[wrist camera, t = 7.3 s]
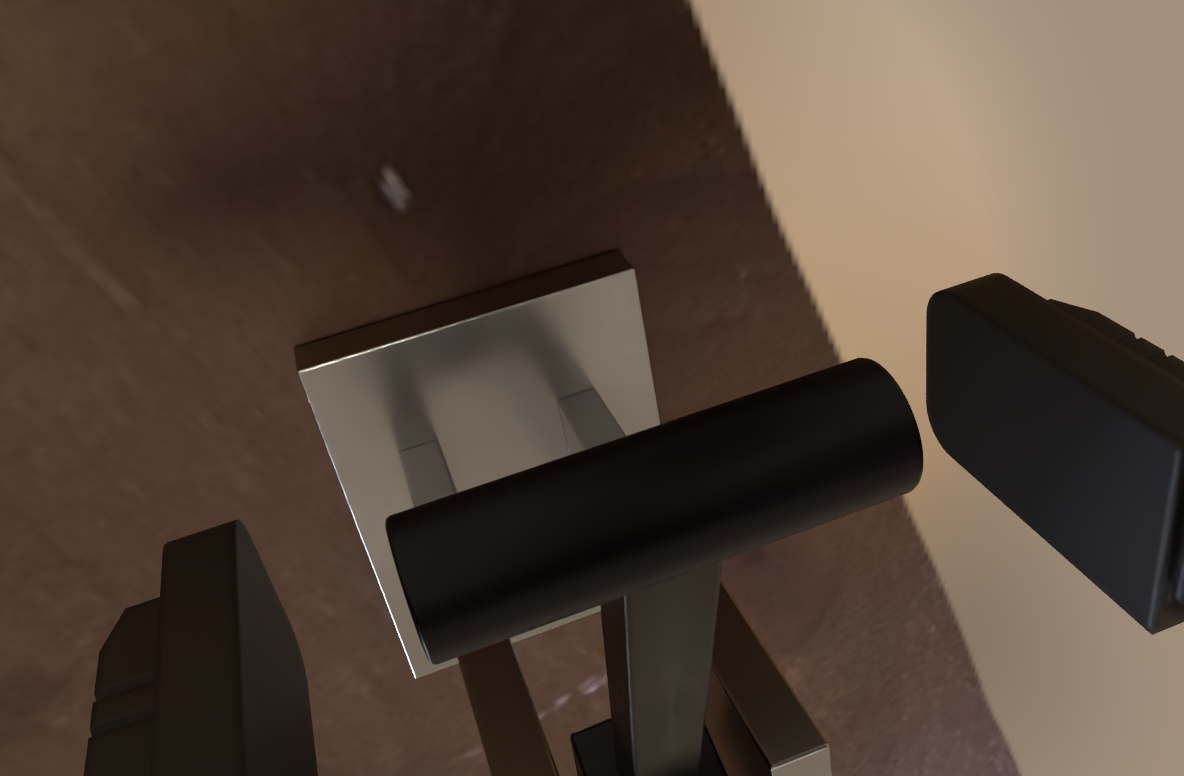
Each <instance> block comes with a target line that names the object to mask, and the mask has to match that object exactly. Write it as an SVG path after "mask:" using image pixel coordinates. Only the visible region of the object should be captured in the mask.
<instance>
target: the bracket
mask: <svg viewBox="0 0 1184 776" xmlns="http://www.w3.org/2000/svg"><path fill="white" fill-rule="evenodd" d="M294 355H295V362H296V368H297V373H298V376H299V379H300V381H301V384H302V386H303V389H304V392H305V394H306V397H307V399H308V402H309V405H310V407H311V410H312V412H313V415H314V417H315V420H316V423H317V425H318V428H319V430H320V433H321V436H322V438H323V441H324V443H325V446H326V449H327V451H328V454H329V456H330V459H331V462H332V464H333V467H334V469H335V472H336V475H337V477H338V480H339V482H340V485H341V488H342V490H343V493H344V495H345V498H346V500H347V503H348V506H349V508H350V511H351V513H352V516H353V519H354V521H355V524H356V526H357V529H358V532H359V534H360V537H361V539H362V542H363V545H364V547H365V550H366V552H367V555H368V558H369V560H370V563H371V565H372V568H373V571H374V573H375V576H376V578H377V581H378V583H379V586H380V589H381V591H382V594H383V596H384V599H385V602H386V604H387V607H388V609H389V612H390V615H391V617H392V620H393V622H394V625H395V628H396V630H397V633H398V635H399V638H400V641H401V643H402V646H403V648H404V651H405V654H406V656H407V659H408V661H409V664H410V666H411V669H412V672H413V674H414V677H415V678H416V679H418V678H421V677H423V676H426V675H429V674H432V673H434V672H437V671H440V670H442V669H445V668H448V667H451V666H453V665H456V664H459V665H460V668H461V672H462V675H463V679H464V682H465V686H466V689H467V692H468V696H469V699H470V703H471V706H472V710H473V713H474V717H475V720H476V723H477V727H478V730H479V734H480V737H481V741H482V744H483V748H484V751H485V754H486V758H487V761H488V765H489V768H490V772H491V775H492V776H559V773H558V771H557V768H556V765H555V762H554V760H553V757H552V754H551V751H550V748H549V746H548V743H547V740H546V737H545V735H544V732H543V729H542V726H541V723H540V721H539V718H538V715H537V712H536V710H535V707H534V704H533V701H532V698H531V696H530V693H529V690H528V687H527V685H526V682H525V679H524V676H523V673H522V671H521V668H520V665H519V662H518V660H517V657H516V654H515V651H514V648H513V646H512V644H513V643H516V642H519V641H522V640H524V639H527V638H530V637H533V636H535V635H538V634H541V633H544V632H546V631H549V630H552V629H554V628H557V627H560V626H563V625H565V624H568V623H571V622H574V621H576V620H579V619H582V618H584V617H587V616H590V615H593V614H595V613H598V612H601V606H600V605H599V606H597V607H594V608H591V609H588V610H586V611H583V612H580V613H577V614H575V615H572V616H569V617H566V618H564V619H561V620H558V621H555V622H553V623H550V624H547V625H544V626H542V627H539V628H536V629H534V630H531V631H528V632H525V633H523V634H520V635H517V636H514V637H512V638H509V639H506V640H503V641H501V642H498V643H495V644H492V645H490V646H487V647H484V648H481V649H479V650H476V651H473V652H470V653H468V654H465V655H462V656H460V657H457V658H454V659H451V660H449V661H446V662H443V663H440V664H438V665H435V664H431V662H430V661H429V660H428V658H427V657H426V654H425V652H424V650H423V647H422V645H421V642H420V639H419V637H418V634H417V631H416V628H415V625H414V623H413V620H412V617H411V614H410V611H409V608H408V605H407V602H406V599H405V595H404V592H403V589H402V586H401V583H400V579H399V576H398V573H397V569H396V566H395V563H394V559H393V556H392V552H391V548H390V545H389V541H388V537H387V532H386V527H385V522H386V518H388V517H389V516H390V515H393V514H396V513H399V512H402V511H405V510H408V509H411V508H414V507H417V506H420V505H423V504H426V503H428V502H431V501H434V500H437V499H440V498H443V497H446V496H449V495H452V494H455V493H458V492H461V491H464V490H467V489H470V488H473V487H476V486H479V485H482V484H485V483H488V482H491V481H494V480H497V479H500V478H503V477H506V476H509V475H512V474H515V473H518V472H521V471H524V470H527V469H530V468H533V467H536V466H539V465H541V464H544V463H547V462H550V461H553V460H556V459H559V458H562V457H565V456H568V455H571V454H574V453H577V452H580V451H583V450H586V449H589V448H592V447H595V446H598V445H601V444H604V443H607V442H610V441H613V440H616V439H619V438H622V437H625V436H628V435H631V434H634V433H637V432H640V431H643V430H646V429H649V428H652V427H655V426H657V425H660V424H661V423H660V417H659V411H658V405H657V399H656V393H655V387H654V381H653V375H652V369H651V363H650V357H649V351H648V345H647V339H646V333H645V327H644V321H643V315H642V309H641V303H640V298H639V292H638V286H637V280H636V274H635V269H634V267H633V266H632V265H631V264H630V263H629V262H628V261H627V260H626V259H625V257H624V256H623V255H622V254H621V253H620V252H619V251H614V252H611V253H608V254H604V255H601V256H598V257H594V258H591V259H588V260H584V261H581V262H578V263H574V264H571V265H568V266H565V267H561V268H558V269H555V270H551V271H548V272H545V273H541V274H538V275H535V276H531V277H528V278H525V279H522V280H518V281H515V282H512V283H508V284H505V285H502V286H498V287H495V288H492V289H488V290H485V291H482V292H479V293H475V294H472V295H469V296H465V297H462V298H459V299H455V300H452V301H449V302H445V303H442V304H439V305H436V306H432V307H429V308H426V309H422V310H419V311H416V312H412V313H409V314H406V315H403V316H399V317H396V318H393V319H389V320H386V321H383V322H379V323H376V324H373V325H369V326H366V327H363V328H360V329H356V330H353V331H350V332H346V333H343V334H340V335H336V336H333V337H330V338H326V339H323V340H320V341H317V342H313V343H310V344H307V345H303V346H300V347H297V348H295V349H294ZM705 725H706V727H707V730H708V732H709V734H710V736H711V739H712V741H713V743H714V745H715V748H716V750H717V752H718V754H719V757H720V759H721V761H722V763H723V766H724V768H725V770H726V772H727V775H728V776H831V762H830V749H829V744H828V742H827V741H826V739H825V738H824V736H823V735H822V733H821V732H820V730H819V729H818V727H817V726H816V724H815V723H814V721H813V719H812V717H811V716H810V714H809V713H808V711H807V710H806V709H805V707H804V706H803V704H802V703H801V701H800V700H799V698H798V697H797V695H796V694H795V692H794V691H793V689H792V687H791V686H790V684H789V683H788V681H787V680H786V678H785V677H784V675H783V674H782V672H781V671H780V669H779V668H778V666H777V665H776V663H775V662H774V660H773V659H772V657H771V656H770V654H769V652H768V651H767V649H766V648H765V646H764V645H763V643H762V642H761V640H760V639H759V637H758V636H757V634H756V633H755V631H754V630H753V628H752V627H751V625H750V624H749V622H748V620H747V619H746V617H745V616H744V614H743V613H742V611H741V610H740V608H739V607H738V605H737V604H736V602H735V601H734V599H733V598H732V596H731V595H730V593H729V592H728V590H727V589H726V587H725V585H724V584H723V582H722V581H720V590H719V599H718V609H717V618H716V627H715V636H714V646H713V655H712V664H711V673H710V683H709V692H708V701H707V710H706V720H705Z"/></svg>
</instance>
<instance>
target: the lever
mask: <svg viewBox="0 0 1184 776" xmlns="http://www.w3.org/2000/svg"><path fill="white" fill-rule="evenodd" d="M922 471H923V450H922V443H921V438H920V433H919V430H918V427H917V423H916V420H915V418H914V415H913V412H912V410H911V408H910V405H909V403H908V401H907V399H906V397H905V395H904V394H903V392H902V390H901V389H900V387H899V385H898V384H897V382H896V381H895V380H894V378H893V377H892V376H891V375H890V374H889V373H888V371H887V370H886V369H885V368H883V367H882V366H881V365H880V364H878V363H877V362H875V361H873V360H871V359H867V358H857V359H854V360H851V361H848V362H845V363H842V364H839V365H836V366H833V367H830V368H827V369H824V370H821V371H818V372H815V373H812V374H809V375H806V376H803V377H800V378H797V379H794V380H791V381H788V382H785V383H782V384H779V385H776V386H773V387H771V388H768V389H765V390H762V391H759V392H756V393H753V394H750V395H747V396H744V397H741V398H738V399H735V400H732V401H729V402H726V403H723V404H720V405H717V406H714V407H711V408H708V409H705V410H702V411H699V412H696V413H693V414H690V415H687V416H684V417H681V418H678V419H675V420H672V421H669V422H666V423H663V424H660V425H657V426H655V427H652V428H649V429H646V430H643V431H640V432H637V433H634V434H631V435H628V436H625V437H622V438H619V439H616V440H613V441H610V442H607V443H604V444H601V445H598V446H595V447H592V448H589V449H586V450H583V451H580V452H577V453H574V454H571V455H568V456H565V457H562V458H559V459H556V460H553V461H550V462H547V463H544V464H541V465H539V466H536V467H533V468H530V469H527V470H524V471H521V472H518V473H515V474H512V475H509V476H506V477H503V478H500V479H497V480H494V481H491V482H488V483H485V484H482V485H479V486H476V487H473V488H470V489H467V490H464V491H461V492H458V493H455V494H452V495H449V496H446V497H443V498H440V499H437V500H434V501H431V502H428V503H426V504H423V505H420V506H417V507H414V508H411V509H408V510H405V511H402V512H399V513H396V514H393V515H390V516H389V517H388V518H386V522H385V527H386V532H387V537H388V541H389V545H390V548H391V552H392V556H393V559H394V563H395V566H396V569H397V573H398V576H399V579H400V583H401V586H402V589H403V592H404V595H405V599H406V602H407V605H408V608H409V611H410V614H411V617H412V620H413V623H414V625H415V628H416V631H417V634H418V637H419V639H420V642H421V645H422V647H423V650H424V652H425V654H426V657H427V658H428V660H429V661H430V662H431V664H435V665H438V664H440V663H443V662H446V661H449V660H451V659H454V658H457V657H460V656H462V655H465V654H468V653H470V652H473V651H476V650H479V649H481V648H484V647H487V646H490V645H492V644H495V643H498V642H501V641H503V640H506V639H509V638H512V637H514V636H517V635H520V634H523V633H525V632H528V631H531V630H534V629H536V628H539V627H542V626H544V625H547V624H550V623H553V622H555V621H558V620H561V619H564V618H566V617H569V616H572V615H575V614H577V613H580V612H583V611H586V610H588V609H591V608H594V607H597V606H599V605H600V606H601V616H602V627H603V637H604V647H605V657H606V668H607V678H608V688H609V698H610V708H611V718H609V719H607V720H604V721H601V722H599V723H596V724H594V725H591V726H588V727H586V728H583V729H581V730H578V731H575V732H573V733H572V734H571V744H572V749H573V754H574V759H575V764H576V769H577V774H578V776H728V775H727V772H726V770H725V768H724V766H723V763H722V761H721V759H720V757H719V754H718V752H717V750H716V748H715V745H714V743H713V741H712V739H711V736H710V734H709V732H708V730H707V727H706V725H705V720H706V710H707V701H708V692H709V683H710V673H711V664H712V655H713V646H714V636H715V627H716V618H717V609H718V599H719V590H720V581H721V571H722V562H723V560H725V559H728V558H731V557H734V556H736V555H739V554H742V553H744V552H747V551H750V550H753V549H755V548H758V547H761V546H764V545H766V544H769V543H772V542H775V541H777V540H780V539H783V538H786V537H788V536H791V535H794V534H797V533H799V532H802V531H805V530H808V529H810V528H813V527H816V526H818V525H821V524H824V523H827V522H829V521H832V520H835V519H838V518H840V517H843V516H846V515H849V514H851V513H854V512H857V511H860V510H862V509H865V508H868V507H871V506H873V505H876V504H879V503H881V502H884V501H887V500H890V499H892V498H895V497H898V496H901V495H903V494H906V493H909V492H910V491H912V490H913V489H914V488H915V487H916V486H917V485H918V483H919V481H920V479H921V476H922Z"/></svg>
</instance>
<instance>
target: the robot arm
mask: <svg viewBox="0 0 1184 776" xmlns="http://www.w3.org/2000/svg"><path fill="white" fill-rule="evenodd" d="M926 332H927V333H926V334H927V336H926V337H927V338H926V339H927V340H926V341H927V342H926V350H927V351H926V358H927V359H926V374H927V375H926V405H927V413H928V417H929V421H930V424H931V427H932V429H933V432H934V434H935V436H936V438H937V440H938V441H939V443H940V444H941V446H942V447H943V449H944V450H945V451H946V452H947V453H948V454H949V455H950V456H951V457H952V458H953V459H954V460H956V462H958V463H959V464H960V465H961V466H962V467H963V468H964V469H966V470H967V471H968V472H969V473H970V474H971V475H972V476H973V477H975V478H976V479H977V480H978V481H979V482H980V483H982V485H984V486H985V487H986V488H987V489H988V490H989V491H990V492H991V493H993V494H994V495H995V496H996V497H997V498H998V499H999V500H1001V501H1002V502H1003V503H1004V504H1005V505H1006V506H1007V507H1008V508H1010V509H1011V510H1012V511H1013V512H1014V513H1015V514H1016V515H1017V516H1019V517H1020V518H1021V519H1022V520H1023V521H1024V522H1025V523H1027V524H1028V525H1029V526H1030V527H1031V528H1032V529H1033V530H1034V531H1036V532H1037V533H1038V534H1039V535H1040V536H1041V537H1042V538H1043V539H1045V540H1046V541H1047V542H1048V543H1049V544H1050V545H1051V546H1052V547H1054V548H1055V549H1056V550H1057V551H1058V552H1059V553H1060V554H1062V555H1063V556H1064V557H1065V558H1066V559H1067V560H1068V561H1069V562H1071V563H1072V564H1073V565H1074V566H1075V567H1076V568H1077V569H1078V570H1080V571H1081V572H1082V573H1083V574H1084V575H1085V576H1086V577H1087V578H1089V579H1090V580H1091V581H1092V582H1093V583H1094V584H1095V585H1096V586H1098V587H1099V588H1100V589H1101V590H1102V591H1103V592H1104V593H1105V594H1107V595H1108V596H1109V597H1110V598H1111V599H1112V600H1113V601H1114V602H1116V603H1117V604H1118V605H1119V606H1120V607H1121V608H1122V609H1124V610H1125V611H1126V612H1127V613H1128V614H1129V615H1130V616H1131V617H1133V618H1134V619H1135V620H1136V621H1137V622H1138V623H1139V624H1140V625H1142V626H1143V627H1144V628H1145V629H1146V630H1147V631H1148V632H1150V633H1151V634H1152V635H1153V634H1155V633H1158V632H1160V631H1163V630H1165V629H1167V628H1170V627H1172V626H1175V625H1177V624H1180V623H1182V622H1184V362H1183V361H1182V360H1180V359H1178V358H1176V357H1175V356H1173V355H1171V356H1168V357H1167V356H1166V355H1165V353H1164V350H1163V349H1161V348H1159V347H1157V346H1155V345H1154V344H1152V343H1150V342H1149V341H1147V340H1145V339H1143V338H1139V339H1136V338H1135V335H1134V333H1133V332H1131V331H1130V330H1128V329H1126V328H1124V327H1123V326H1121V325H1119V324H1118V323H1116V322H1114V321H1112V320H1111V319H1109V318H1107V317H1105V316H1104V315H1102V314H1100V313H1098V312H1095V311H1092V310H1088V309H1085V308H1081V307H1078V306H1074V305H1070V304H1067V303H1063V302H1059V301H1056V300H1053V299H1049V300H1046V299H1044V298H1042V297H1041V296H1039V295H1038V294H1036V293H1034V292H1033V291H1031V290H1029V289H1028V288H1026V287H1024V286H1023V285H1021V284H1019V283H1018V282H1016V281H1014V280H1012V279H1011V278H1009V277H1007V276H1005V275H1003V274H999V273H993V274H990V275H987V276H984V277H981V278H978V279H974V280H972V281H968V282H965V283H962V284H959V285H956V286H953V287H950V288H947V289H944V290H941V291H938V292H936V293H934V294H933V295H932V297H931V298H930V300H929V303H928V306H927V331H926ZM94 695H95V697H96V702H93V707H92V715H91V723H90V731H91V734H92V737H91V738H89V739H88V747H87V755H86V762H85V770H84V776H318V772H317V763H316V754H315V745H314V737H313V728H312V719H311V710H310V701H309V692H308V684H307V677H306V672H305V667H304V663H303V659H302V656H301V652H300V649H299V645H298V642H297V639H296V637H295V634H294V631H293V629H292V626H291V624H290V622H289V619H288V617H287V615H286V613H285V611H284V609H283V606H282V604H281V602H280V600H279V598H278V596H277V593H276V591H275V589H274V587H273V585H272V583H271V580H270V578H269V576H268V574H267V572H266V570H265V567H264V565H263V563H262V561H261V559H260V557H259V554H258V552H257V550H256V548H255V546H254V543H253V541H252V539H251V537H250V535H249V533H248V531H247V529H246V528H245V526H244V525H243V523H242V522H241V521H240V520H234V521H231V522H228V523H225V524H222V525H219V526H216V527H213V528H210V529H207V530H204V531H201V532H198V533H195V534H192V535H189V536H186V537H182V538H179V539H176V540H173V541H170V542H167V543H166V544H165V545H164V548H163V556H162V573H161V590H160V597H159V598H156V599H153V600H150V601H147V602H144V603H141V604H138V605H135V606H132V607H129V608H126V609H125V610H124V612H123V614H122V615H121V617H120V619H119V620H118V622H117V624H116V625H115V627H114V629H113V630H112V632H111V634H110V635H109V637H108V639H107V640H106V642H105V644H104V645H103V647H102V649H101V650H100V652H99V660H98V668H97V676H96V683H95V691H94Z"/></svg>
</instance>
